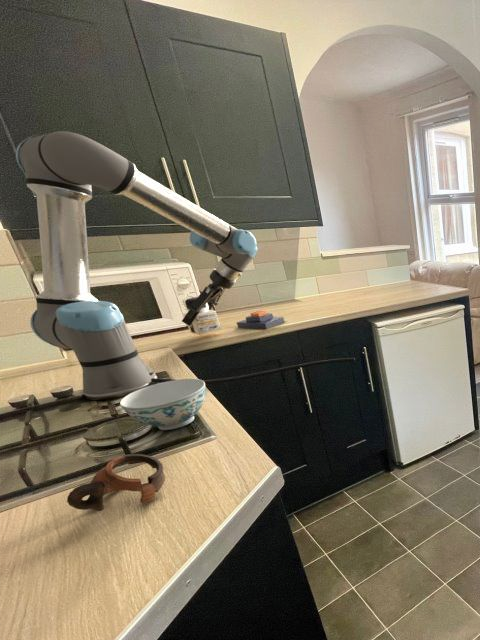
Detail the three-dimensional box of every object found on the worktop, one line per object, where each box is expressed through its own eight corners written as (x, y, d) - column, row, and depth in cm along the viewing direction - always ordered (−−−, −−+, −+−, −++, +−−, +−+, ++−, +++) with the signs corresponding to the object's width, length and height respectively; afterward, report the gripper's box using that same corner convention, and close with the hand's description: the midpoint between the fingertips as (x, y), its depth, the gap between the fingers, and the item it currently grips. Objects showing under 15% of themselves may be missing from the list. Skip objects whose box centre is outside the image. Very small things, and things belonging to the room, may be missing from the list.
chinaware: (228, 416, 97) (217, 386, 94) (151, 447, 86) (136, 413, 83) (197, 402, 105) (187, 374, 102) (123, 429, 93) (108, 398, 90)
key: (267, 315, 173) (265, 311, 172) (259, 317, 169) (258, 313, 168) (259, 315, 173) (257, 310, 173) (251, 317, 170) (250, 313, 169)
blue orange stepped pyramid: (284, 322, 175) (282, 312, 174) (266, 328, 167) (263, 319, 165) (257, 321, 179) (254, 311, 177) (238, 327, 170) (235, 318, 168)
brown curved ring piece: (132, 480, 76) (143, 443, 74) (171, 509, 75) (183, 472, 73) (46, 510, 64) (56, 467, 62) (90, 544, 63) (102, 501, 61)
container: (200, 335, 155) (188, 301, 150) (190, 333, 159) (177, 299, 154) (222, 330, 161) (211, 296, 156) (211, 328, 165) (200, 295, 160)
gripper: (222, 286, 145) (188, 334, 149) (247, 276, 166) (217, 318, 170) (200, 272, 142) (166, 320, 146) (228, 263, 163) (198, 306, 167)
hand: (193, 319), depth 158 cm, fingers closed on container, 11 cm apart
